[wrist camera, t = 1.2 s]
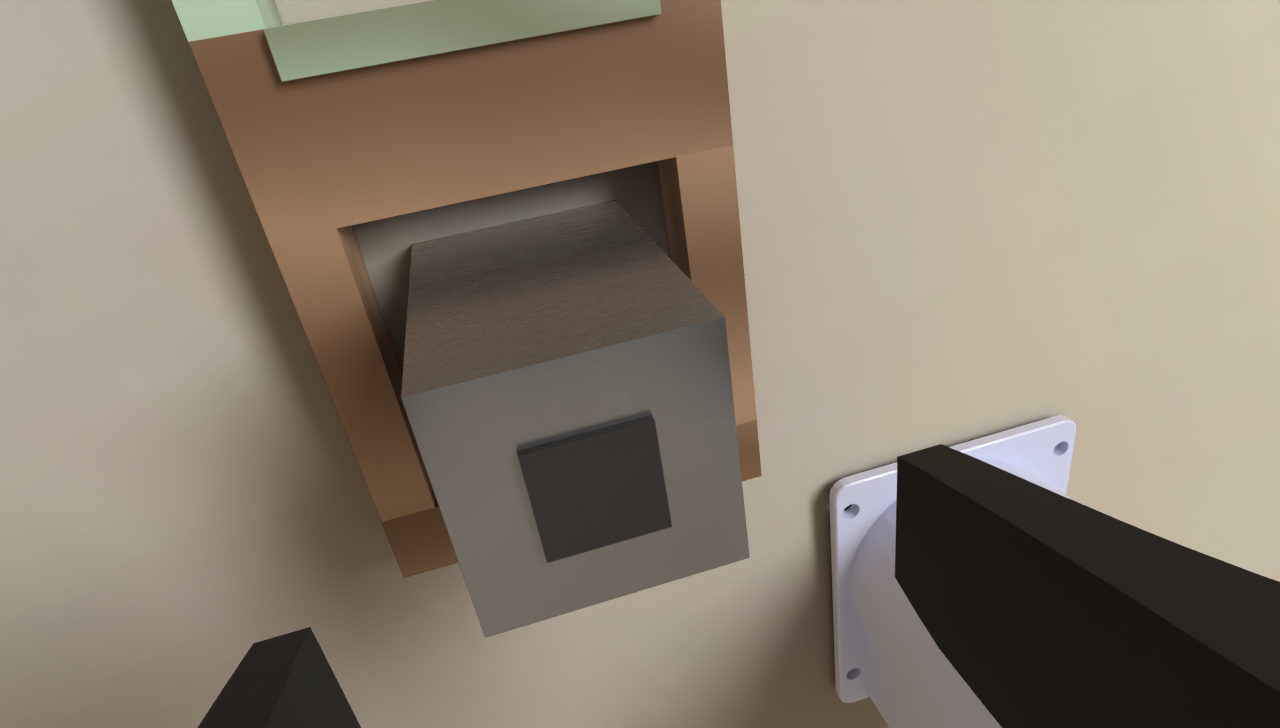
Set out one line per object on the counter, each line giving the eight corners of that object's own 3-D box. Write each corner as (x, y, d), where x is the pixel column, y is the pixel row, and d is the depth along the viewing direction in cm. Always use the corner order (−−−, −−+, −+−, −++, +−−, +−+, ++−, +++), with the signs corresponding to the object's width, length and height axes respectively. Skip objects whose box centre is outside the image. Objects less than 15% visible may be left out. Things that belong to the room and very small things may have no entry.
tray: (738, 442, 20) (764, 480, 19) (405, 535, 19) (403, 583, 17) (623, -687, 11) (656, -805, 9) (-60, -670, 9) (-159, -805, 8)
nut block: (644, 374, 19) (752, 563, 12) (466, 420, 18) (485, 644, 12) (615, 200, 16) (728, 321, 10) (411, 244, 16) (400, 402, 10)
